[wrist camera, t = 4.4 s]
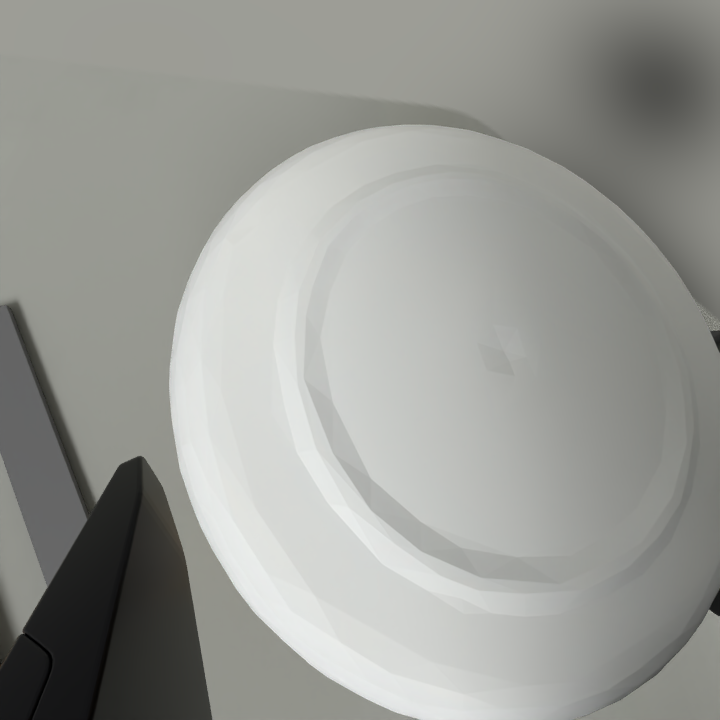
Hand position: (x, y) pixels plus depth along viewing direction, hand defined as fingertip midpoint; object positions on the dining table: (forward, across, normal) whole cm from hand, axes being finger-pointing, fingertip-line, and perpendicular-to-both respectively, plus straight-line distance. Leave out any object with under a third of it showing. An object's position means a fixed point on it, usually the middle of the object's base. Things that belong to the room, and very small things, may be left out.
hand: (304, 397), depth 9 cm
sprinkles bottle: (+4, 0, +6) cm, 7 cm away
